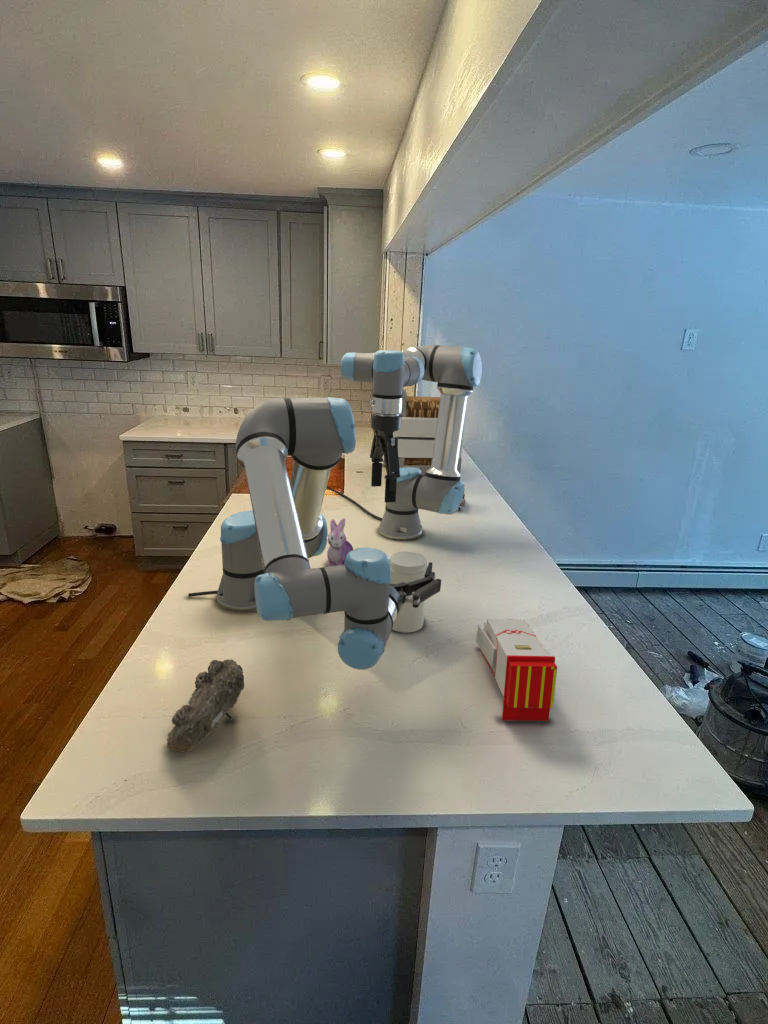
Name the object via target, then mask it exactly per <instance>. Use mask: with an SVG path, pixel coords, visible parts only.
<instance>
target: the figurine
mask: <svg viewBox="0 0 768 1024" xmlns="http://www.w3.org/2000/svg"><path fill="white" fill-rule="evenodd" d="M329 524H330V525H329V526H330V532H329V534H328V536H327V544H328V545H329V547H328V548H327V552H326V553H327V555H326V556H327V562H326V565H327V567H330V566H339V565H344V563H345V559H346V555H347V554H348V552H350V551H352V550H354V548H353V545H352V544H351V542H349V541H348V540H347V535H346V534H345V532H344V529H345V527H346V518H345V517H344V518H341V519H340V521H339V522H338V524H337V523H336V520H335V519H333V518H332V519H330V523H329Z"/></svg>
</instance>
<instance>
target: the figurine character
mask: <svg viewBox="0 0 768 1024" xmlns="http://www.w3.org/2000/svg"><path fill="white" fill-rule="evenodd" d="M465 496H466V494H465V493H464V495H463V499H462V501H461V504H460V506H459V508H458V509H457V510H458V511H461V510H462V509H461V508H465V505H466V497H465Z"/></svg>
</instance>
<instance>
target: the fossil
mask: <svg viewBox="0 0 768 1024" xmlns="http://www.w3.org/2000/svg"><path fill="white" fill-rule="evenodd" d="M243 670H244V669H243V667H242V665H240V664H237V662H236V661H235V660H234V659H232V658H231V659H227V658H226V659H224V660H223V661H222V660H217V659H212V660H211V661H210V663H209V665H208V666H207V671H201V672H199V673H198V674H197V675H196V676H195V680H194V684H195V685H194V687H195V689H194V690H193V693H192V694H191V697H190V698H189V700H188V704H184V705H182V706H181V707H180V709H177V710H176V711H175V713H174V715H173V716H172V718H171V723H172V724H173V727H172V730H171V731H170V732H168V734H167V738H166V741H167V742H166V745H167V749H168V750H169V751H173V752H174V753H176V754H178V753H182V752H188V751H189V752H192V751H193V750H195V748H196V747H197V746H199V744H200V743H201V742H203V741H204V740H205V739H206V738H207V737H208V736H209V735H210V734H211V733H212V732H214V730H215V729H217V727H218V726H219V724H220V722H221V721H222V720H223V719H224V718H225V716H226V717H227V719H229V720H233V717H232V715H230V714H229V710H230V709H231V708H234V706H235V704H236V703H237V702H238V699H239V697H240V695H241V693H242V691H243V690H245V689H244V688H245V675H244V671H243Z"/></svg>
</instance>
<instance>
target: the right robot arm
mask: <svg viewBox="0 0 768 1024" xmlns="http://www.w3.org/2000/svg"><path fill="white" fill-rule="evenodd" d="M482 373H483V364H482V359H481V355H480V353H479V351H478V350H477V349H476V348H473V347H467V346H455V345H438V344H428V345H427V344H426V345H421V346H412V347H406V348H404V349H403V350H402V351H400V350H391V349H388V350H387V349H380V350H378V349H377V350H376V351H375V352H356V351H355V352H346V353H345V354H344V355H343V356H342V358H341V361H340V374H341V377H342V378H343V379H344V380H346V381H352V382H354V383H355V382H359V383H360V382H361V383H370V384H372V394H371V395H372V396H371V397H372V400H370V401H369V404H370V405H371V412H372V415H371V418H370V419H371V420H370V422H371V423H370V426H371V429H372V430H373V438H372V442H371V447H370V453H369V458H370V460H371V483H370V486H371V487H374V488H375V487H382V484H383V483H382V481H383V463H384V460H385V466H384V467H385V471H386V474H385V475H384V479H385V482H384V483H385V484H384V503H385V504H384V505H385V507H384V508H385V509H384V513H383V515H382V517H380V516H377V515H375V514H373V513H371V512H370V511H369V510H367V509H366V508H365V507H363V506H362V505H360V504H359V503H358V502H356V501H355V500H354V499H352V498H350V497H349V496H347V495H345V494H343V493H342V492H340V491H338V490H336V489H334V488H332V487H329V486H328V485H327V487H326V490H329V491H332V492H334V493H335V494H338V495H339V496H341V497H343V498H345V499H346V500H347V501H350V502H351V503H352V504H354V505H356V507H358V508H359V509H361V510H362V511H364V512H365V513H366V514H367V515H369V516H371V517H373V518H375V519H377V520H379V521H381V522H379V526H378V533H379V534H380V535H381V536H382V537H385V538H387V539H389V540H395V541H410V540H415V539H418V538H420V537H421V536H422V535H423V525H422V524H421V518H420V515H419V510H423V511H427V512H434V513H437V514H439V515H442V514H444V515H453V514H455V513H456V512H457V511H458V510H459V509H458V508H459V506H460V504H461V501H462V499H463V495H464V494H465V490H466V487H465V482H464V481H462V480H461V474H459V472H458V471H457V464H458V457H459V450H460V444H461V440H462V438H461V437H462V430H463V423H464V424H465V421H464V420H465V416H466V415H465V414H466V408H467V401H468V397H469V396H470V395H471V394H472V393H473V392H474V388H475V387H478V386H479V385H480V384H481V380H482ZM421 381H425V382H432V383H437V384H436V389H437V390H438V391H439V393H440V396H439V397H440V404H439V412H438V419H437V427H436V434H435V441H434V449H433V456H432V464H431V465H430V466H429V468H427V469H426V470H425V474H422V470H421V468H419V467H415V466H411V467H410V466H406V467H405V466H404V468H399V457H398V438H394V437H393V432H394V431H398V430H400V428H401V416H400V415H399V414H400V413H401V412H402V389H404V388H406V387H413V386H415V385H416V384H418V383H420V382H421ZM460 507H461V506H460Z"/></svg>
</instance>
